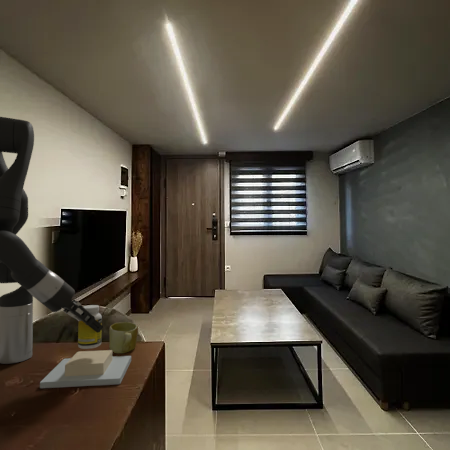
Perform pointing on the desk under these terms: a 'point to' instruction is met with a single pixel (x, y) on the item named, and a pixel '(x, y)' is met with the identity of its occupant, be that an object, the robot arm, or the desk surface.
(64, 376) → the board
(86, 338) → the pill bottle
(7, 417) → the desk surface
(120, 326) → the mug
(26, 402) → the desk surface
